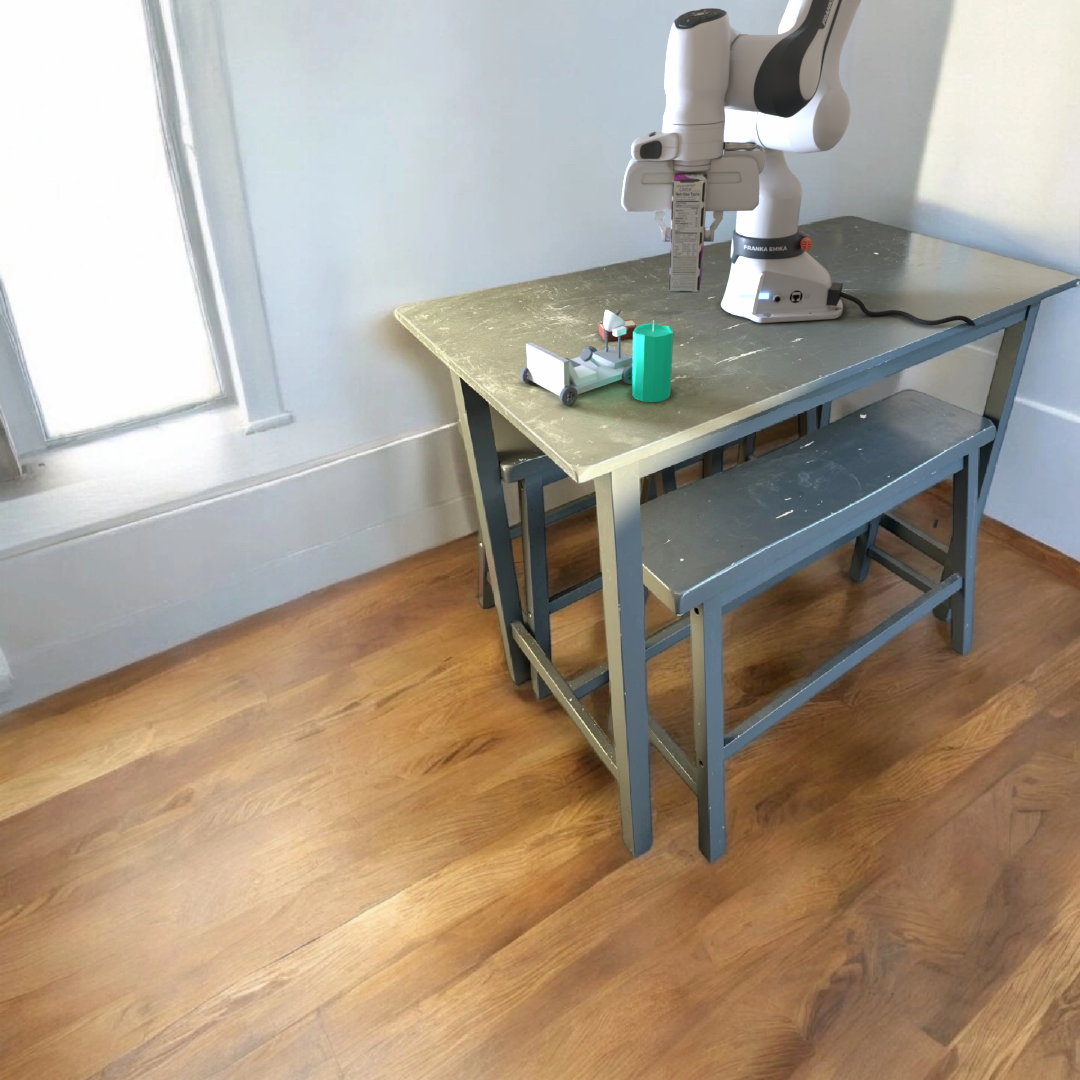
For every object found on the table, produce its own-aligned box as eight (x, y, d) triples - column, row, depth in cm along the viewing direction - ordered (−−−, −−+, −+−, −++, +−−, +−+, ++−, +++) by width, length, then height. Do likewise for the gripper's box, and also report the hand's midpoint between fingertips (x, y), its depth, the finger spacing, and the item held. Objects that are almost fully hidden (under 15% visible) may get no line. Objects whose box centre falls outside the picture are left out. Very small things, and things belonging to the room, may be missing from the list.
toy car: (606, 300, 141) (653, 318, 133) (606, 356, 147) (651, 377, 139) (517, 326, 133) (560, 347, 125) (520, 384, 139) (562, 408, 131)
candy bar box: (671, 271, 139) (676, 162, 130) (702, 271, 138) (710, 162, 129) (666, 293, 130) (671, 178, 121) (699, 293, 129) (707, 178, 120)
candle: (660, 405, 130) (663, 329, 123) (625, 397, 133) (626, 323, 126) (676, 390, 134) (680, 316, 127) (642, 383, 137) (644, 310, 130)
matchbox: (630, 329, 157) (630, 318, 156) (636, 337, 154) (637, 326, 153) (598, 333, 156) (598, 322, 155) (604, 341, 153) (604, 330, 152)
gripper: (765, 137, 124) (755, 235, 131) (624, 139, 127) (622, 235, 134) (768, 145, 119) (758, 246, 126) (621, 147, 121) (620, 246, 129)
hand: (687, 240), depth 130 cm, fingers closed on candy bar box, 5 cm apart
